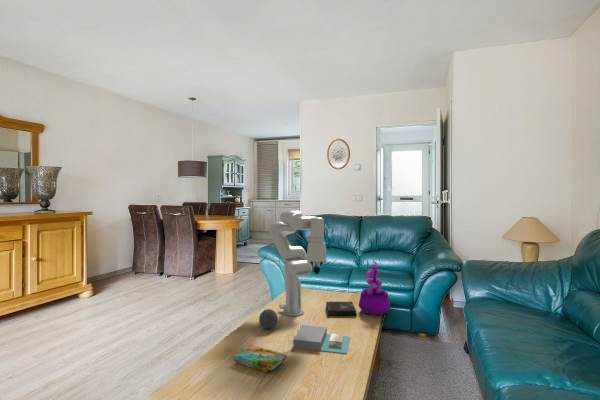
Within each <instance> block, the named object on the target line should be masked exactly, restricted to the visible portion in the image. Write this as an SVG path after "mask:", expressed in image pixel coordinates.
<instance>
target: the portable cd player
mask: <svg viewBox="0 0 600 400" xmlns="http://www.w3.org/2000/svg"><path fill="white" fill-rule="evenodd" d="M325 306H326V313H327V317H338V318H340V317H341V318H344V317H345V318H346V317H350V318H351V317H353V318H354V317H357V316H358V313H357V310H356V308H355V305H354V302H352V301H326V304H325Z"/></svg>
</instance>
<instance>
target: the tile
mask: <svg viewBox="0 0 600 400" xmlns="http://www.w3.org/2000/svg"><path fill="white" fill-rule="evenodd" d="M330 335H331V337H330V340H329V346H335V347H342V344H343V341H344V336H345V334H340V333H339V334H338V333H330Z"/></svg>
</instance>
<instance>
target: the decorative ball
mask: <svg viewBox="0 0 600 400" xmlns="http://www.w3.org/2000/svg"><path fill="white" fill-rule="evenodd" d="M258 321H259V325H260V326H261V327H262V328H264V329H265V330H270V329H274V327H276V325H277V323H278V321H279V317H278V314H277V312H276V311H274V310H273V309H270V308H267V309H264V310H263V311H262V312H261V313H260V314H259V318H258Z"/></svg>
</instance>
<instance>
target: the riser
mask: <svg viewBox="0 0 600 400" xmlns="http://www.w3.org/2000/svg"><path fill="white" fill-rule="evenodd" d="M327 334H328V326H327V327H326V326H317V325H305V324H301V327H300V328H299V330H298V331H297V333H296V335H294V337H293V340H292V341H293V343H292V345H293V346H292V348H294V349H299V350H300V349H301V350H309V351H317V352H322V351H321V348H322V345H323V343H324V340H325V338H326V335H327Z"/></svg>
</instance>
